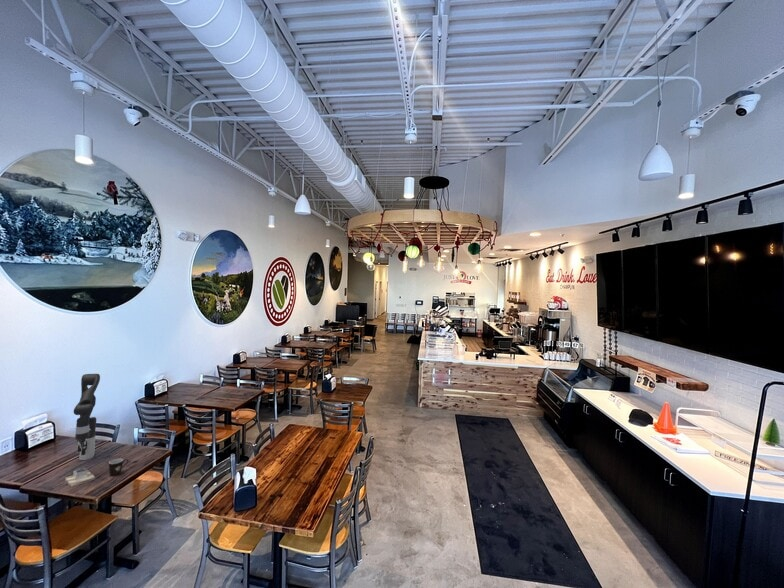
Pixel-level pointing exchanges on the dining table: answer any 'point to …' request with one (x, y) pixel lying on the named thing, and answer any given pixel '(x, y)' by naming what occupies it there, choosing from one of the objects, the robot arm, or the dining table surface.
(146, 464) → the dining table surface
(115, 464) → the coffee mug
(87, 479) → the post plate
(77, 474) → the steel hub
